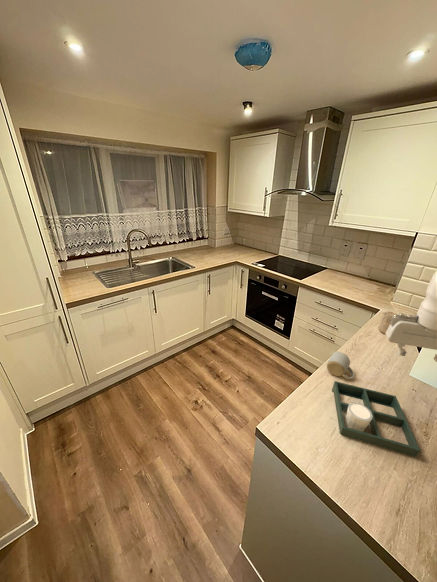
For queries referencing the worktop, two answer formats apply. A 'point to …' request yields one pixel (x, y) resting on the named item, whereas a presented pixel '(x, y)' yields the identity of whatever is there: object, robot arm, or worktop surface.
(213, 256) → the worktop surface
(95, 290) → the worktop surface
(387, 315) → the carving
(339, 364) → the ceramic mug
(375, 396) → the rack
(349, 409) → the shot glass
